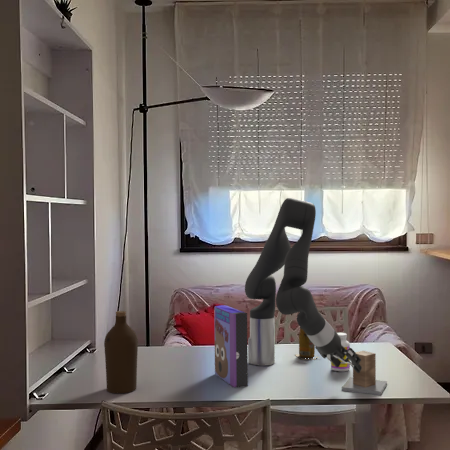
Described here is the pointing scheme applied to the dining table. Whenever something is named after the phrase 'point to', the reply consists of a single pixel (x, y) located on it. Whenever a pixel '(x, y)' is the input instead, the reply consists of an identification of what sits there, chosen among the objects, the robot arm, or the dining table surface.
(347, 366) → the supplement bottle
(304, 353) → the condiment
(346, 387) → the slate tile
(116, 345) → the olive oil
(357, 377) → the walnut block
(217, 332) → the cereal box
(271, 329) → the robot arm
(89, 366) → the dining table surface
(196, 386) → the dining table surface
